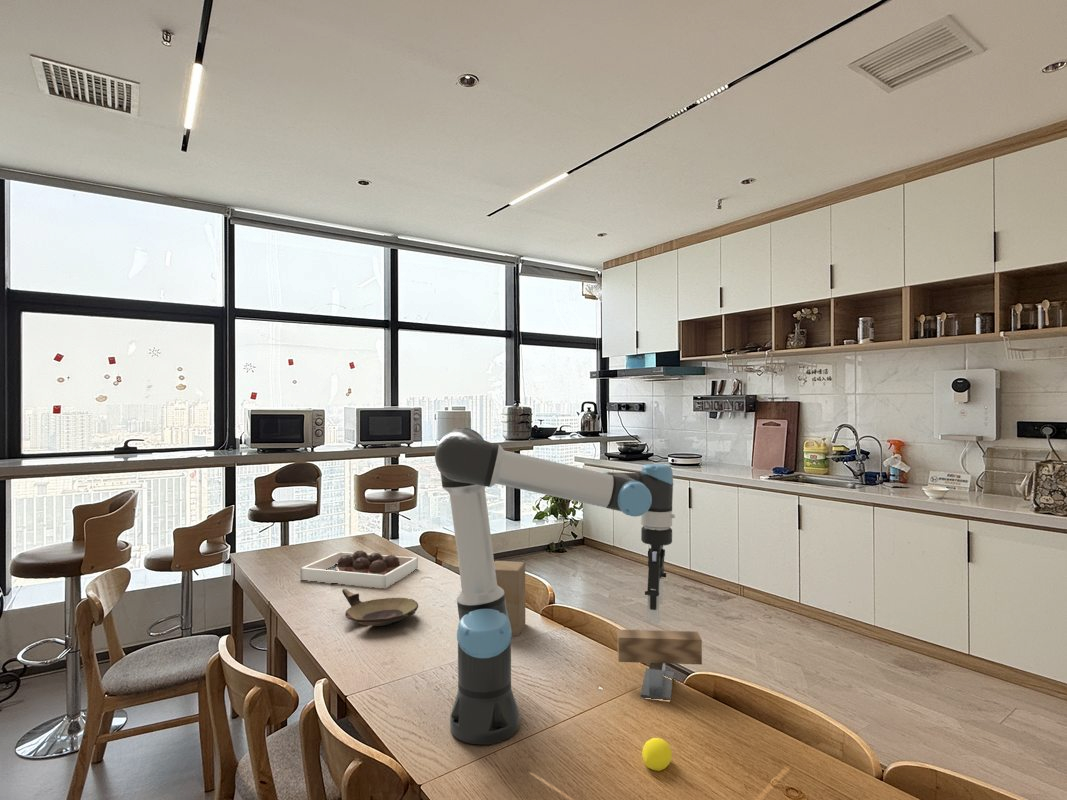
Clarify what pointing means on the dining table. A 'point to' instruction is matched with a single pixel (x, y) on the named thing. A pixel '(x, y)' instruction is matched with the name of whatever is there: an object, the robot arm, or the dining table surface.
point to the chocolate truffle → (368, 563)
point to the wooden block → (513, 591)
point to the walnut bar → (659, 646)
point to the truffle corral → (320, 573)
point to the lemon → (656, 754)
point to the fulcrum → (657, 682)
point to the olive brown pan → (378, 609)
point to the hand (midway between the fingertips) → (655, 612)
